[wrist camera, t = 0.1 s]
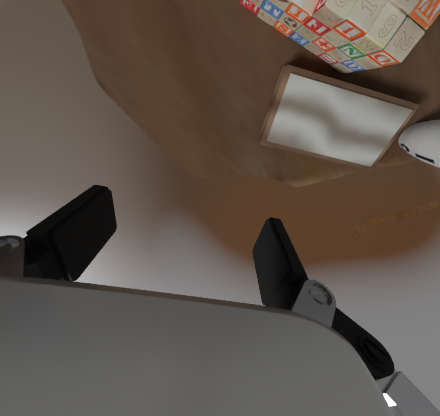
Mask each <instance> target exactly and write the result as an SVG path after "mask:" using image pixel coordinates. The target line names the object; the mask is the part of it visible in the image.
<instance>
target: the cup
mask: <svg viewBox="0 0 440 416" xmlns="http://www.w3.org/2000/svg"><path fill="white" fill-rule="evenodd" d="M399 145H400V146H401V147H402V148H403V149H404V150H405V151H406V152H407V153H409V154H411V155H413V156H414V157H416V158H418V159H420V160H422V161H424V162H426V163H429V164H431V165H434V166H436V167H439V168H440V120H431V121H426V122H420V123H415V124H413V125H411V126H409V127H408V128H407V129H405V130H404V131H403V133H402V134H401V136H400V138H399Z"/></svg>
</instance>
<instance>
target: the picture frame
mask: <svg viewBox="0 0 440 416" xmlns="http://www.w3.org/2000/svg"><path fill="white" fill-rule="evenodd" d="M419 106H420V105H419V104H415V103H412V102H409V101H405V100H402V99H399V98H396V97H392V96H389V95H386V94H383V93H379V92H376V91H373V90H370V89H366V88H363V87H360V86H357V85H353V84H350V83H347V82H344V81H340V80H337V79H334V78H331V77H327V76H324V75H321V74H318V73H314V72H311V71H308V70H305V69H301V68H298V67H295V66H292V65H288V64H287V65H285V66H283V67H282V69H281V72H280V75H279V78H278V81H277V84H276V87H275V90H274V93H273V96H272V99H271V102H270V105H269V108H268V111H267V114H266V117H265V120H264V123H263V126H262V129H261V132H260V135H259V138H258V143H259V144H260V145H264V146H268V147H272V148H276V149H281V150H285V151H289V152H293V153H297V154H301V155H305V156H309V157H313V158H317V159H321V160H325V161H330V162H334V163H338V164H342V165H346V166H350V167H354V168H358V169H362V170H366V171H371V170H372V169H373V168H374V166H375V165H376V164H377V162H378V161H379V160H380V158H381V157H382V156H383V154H384V153H385V152H386V150H387V149H388V148H389V146H390V145H391V144H392V142H393V141H394V140H395V138H396V137H397V136H398V134H399V133H400V132H401V130H402V129H403V128H404V126H405V125H406V124H407V122H408V121H409V120H410V118H411V117H412V116H413V114H414V113H415V112H416V110H417V109H418V108H419Z"/></svg>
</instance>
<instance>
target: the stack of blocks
mask: <svg viewBox="0 0 440 416" xmlns="http://www.w3.org/2000/svg"><path fill="white" fill-rule="evenodd" d="M240 4H241V5H242V6H244V7H245V8H247V9H248V10H250V11H252V12H253V13H255V14H257V16H258V17H259V18H261V19H262V20H264V21H265V22H267V23H268V24H270V25H271V26H273V27H274V28H275V29H277V30H278V31H280V32H281V33H283V34H284V35H286V36H289V37H290V38H291V39H293V40H294V41H296V42H297V43H299V44H300V45H301V46H304V47H305V48H306V49H308V50H309V51H311V52H312V53H314V54H315V55H317V57H319V58H320V59H322V60H323V61H324V62H326V63H327V64H329V65H330V66H331V67H333V68H334V69H336V70H337V71H339V72H340V73H342V74H345V73H350V72H353V71H359V70H365V69H374V68H379V67H382V66H386V65H392V64H398V63H401V62H402V61H403V60H404V58H405V57H406V56H407V55H408V53H409V52H410V51H411V50H412V48H413V47H414V46H415V44H416V43H417V42H418V41H419V40H420V38H421V37H422V36H423V35H424V33H425V30H427V29H428V28H429V26H430V25H431V24H432V23H433V21H434V20H435V19H436V18H437V16H438V15H439V14H440V0H240Z"/></svg>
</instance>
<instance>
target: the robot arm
mask: <svg viewBox="0 0 440 416" xmlns="http://www.w3.org/2000/svg"><path fill="white" fill-rule="evenodd" d="M116 228H117V224H116V218H115V211H114V205H113V199H112V193H111V191H110V190H109V189H108V187H105V186H100V185H93V186H92V187H91V188H89V189H88V190H86V191H85V192H83V193H82V194H80V195H79V196H78V197H76V198H75V199H73V200H72V201H70V202H69V203H68V204H66V205H65V206H63V207H62V208H60V209H59V210H57V211H56V212H54V213H53V214H52V215H50V216H49V217H47V218H46V219H44V220H43V221H41V222H40V223H39V224H37V225H36V226H34V227H33V228H31V229H30V230H28V231H27V236H26V237H25V238H21V237H19V236H15V235H14V236H13V235H10V236H9V235H7V236H0V416H440V412H439V411H438V410H437V408H436V407H435V406H434V405H433V404H432V403H431V402H430V401H429V400H428V399H427V398H426V397H425V396H424V395H423V394H422V393H421V392H420V391H419V390H418V389H417V387H416V386H414V384H413V383H412V382H411V381H410V380H409V379H408V378H407V377H406V376H405V375H404V374H403V373H402V372H401V371H399V372H397V371H396V370H395V369H394V363H393V361H392V359H391V356H390V355H389V353H388V352H387V350H386V349H385V348H384V347H383V345H382V344H381V343H380V342H379V341H378V340H377V339H375V338H374V337H373V336H372V335H371V334H369V333H368V332H367V331H366V330H364V329H363V328H362V327H360V326H359V325H358V324H357V323H355V322H354V321H353V320H352V319H350V318H349V317H348V316H346V315H345V314H344V313H343V312H341V311H340V310H339V309H338V308H336V300H335V297H334V295H333V294H332V292H331V291H330V290H329V289H328V288H327V287H326V286H325V285H324V284H322V283H320V282H318V281H316V280H309V279H308V277H307V274H306V272H305V270H304V268H303V266H302V264H301V262H300V260H299V258H298V255H297V253H296V251H295V249H294V247H293V245H292V243H291V241H290V239H289V236H288V234H287V232H286V230H285V228H284V226H283V224H282V222H281V220H280V219H278V218H272V217H271V218H269V219H267V220H266V221H265V224H264V226H263V228H262V230H261V233H260V235H259V237H258V239H257V241H256V243H255V245H254V248H253V258H254V263H255V269H256V273H257V278H258V284H259V289H260V294H261V299H262V303H263V305H265V306H261V305H254V304H247V303H240V302H232V301H225V300H217V299H209V298H202V297H195V296H186V295H179V294H171V293H163V292H155V291H147V290H139V289H131V288H123V287H114V286H106V285H97V284H90V283H81V282H73V281H76V280H77V279H78V278H79V277H80V275H81V274H82V273H83V272H84V270H85V269H86V268H87V267H88V265H89V264H90V263H91V261H92V260H93V259H94V258H95V256H96V255H97V254H98V253H99V251H100V250H101V249H102V248H103V246H104V245H105V244H106V242H107V241H108V240H109V239H110V237H111V236H112V235H113V234H114V232H115V231H116Z"/></svg>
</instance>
